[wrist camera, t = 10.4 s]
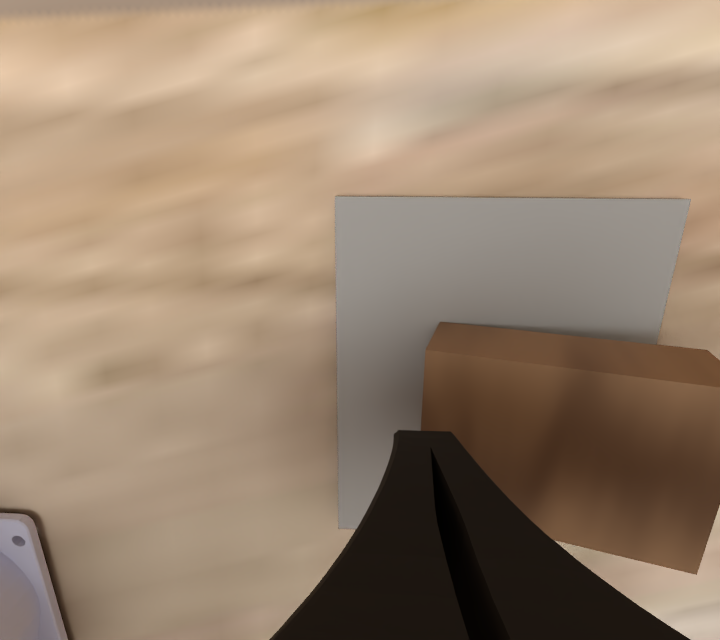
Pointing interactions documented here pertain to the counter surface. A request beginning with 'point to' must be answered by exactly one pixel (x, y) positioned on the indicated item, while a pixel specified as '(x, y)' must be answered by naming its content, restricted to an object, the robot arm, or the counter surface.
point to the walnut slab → (587, 434)
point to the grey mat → (478, 295)
